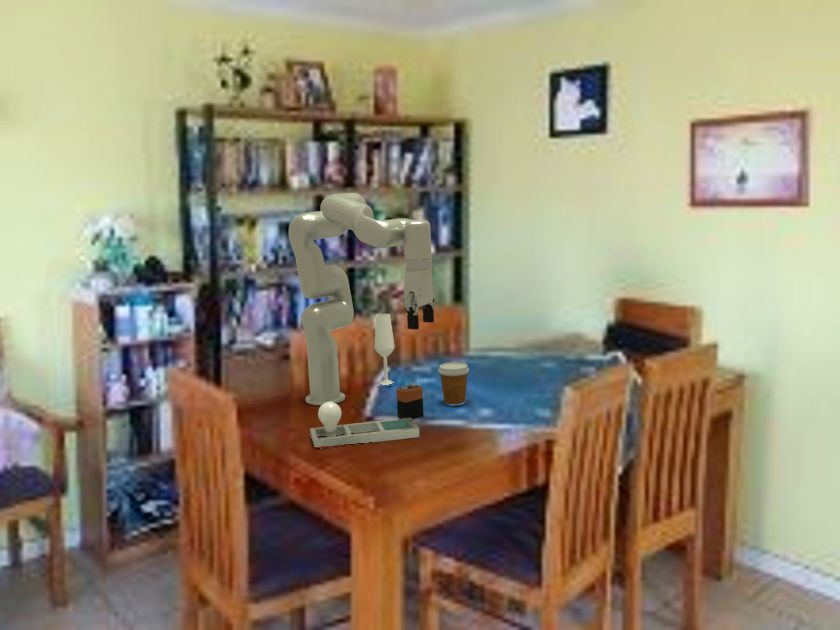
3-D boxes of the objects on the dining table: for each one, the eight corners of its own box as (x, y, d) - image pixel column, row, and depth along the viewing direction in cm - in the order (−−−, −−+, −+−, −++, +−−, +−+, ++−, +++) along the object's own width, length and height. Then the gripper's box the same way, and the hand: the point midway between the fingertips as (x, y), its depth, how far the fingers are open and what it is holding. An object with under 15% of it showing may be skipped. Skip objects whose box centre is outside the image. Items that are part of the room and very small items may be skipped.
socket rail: (310, 437, 240) (310, 428, 239) (411, 425, 246) (410, 417, 246) (314, 449, 230) (314, 440, 230) (419, 437, 236) (418, 428, 236)
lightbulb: (333, 435, 240) (330, 397, 238) (347, 440, 236) (345, 401, 234) (315, 441, 236) (312, 402, 234) (329, 446, 232) (327, 407, 230)
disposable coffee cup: (439, 408, 261) (438, 370, 259) (439, 399, 271) (437, 362, 268) (471, 407, 261) (470, 368, 259) (469, 398, 271) (468, 361, 268)
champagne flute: (398, 382, 293) (395, 313, 288) (393, 387, 286) (390, 317, 282) (379, 381, 294) (376, 313, 290) (374, 387, 288) (370, 316, 283)
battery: (424, 416, 254) (423, 383, 252) (406, 421, 250) (404, 388, 248) (415, 413, 258) (413, 381, 256) (397, 418, 254) (395, 385, 252)
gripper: (419, 260, 247) (422, 319, 250) (391, 269, 232) (395, 331, 235) (443, 261, 244) (445, 320, 247) (416, 269, 228) (419, 332, 232)
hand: (421, 325), depth 241 cm, fingers open, 9 cm apart
